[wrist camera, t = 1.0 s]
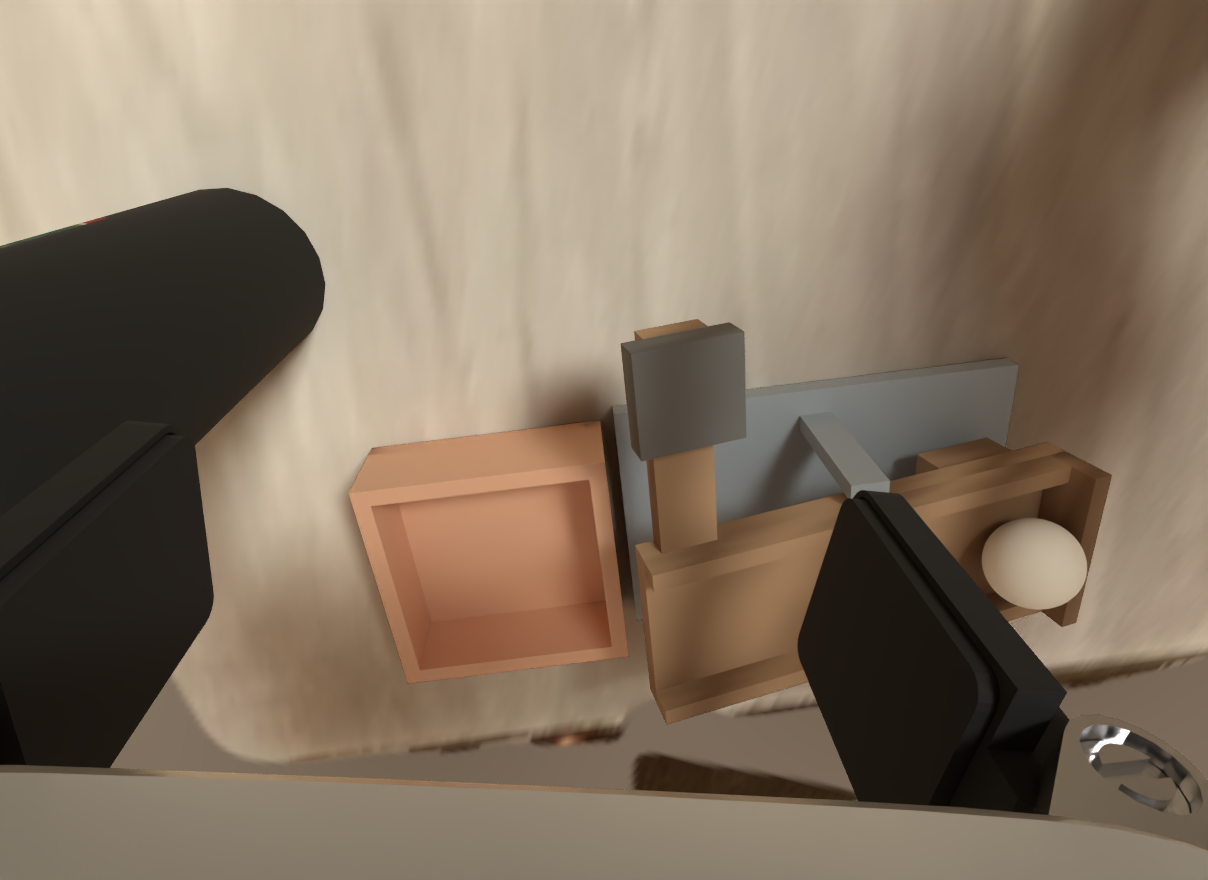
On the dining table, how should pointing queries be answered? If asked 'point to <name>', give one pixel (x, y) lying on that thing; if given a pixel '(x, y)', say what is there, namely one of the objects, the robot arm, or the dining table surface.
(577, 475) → the pink hollow square tray
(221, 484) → the dining table surface
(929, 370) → the stand
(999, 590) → the ball
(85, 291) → the wine bottle
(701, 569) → the lever
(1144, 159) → the dining table surface
